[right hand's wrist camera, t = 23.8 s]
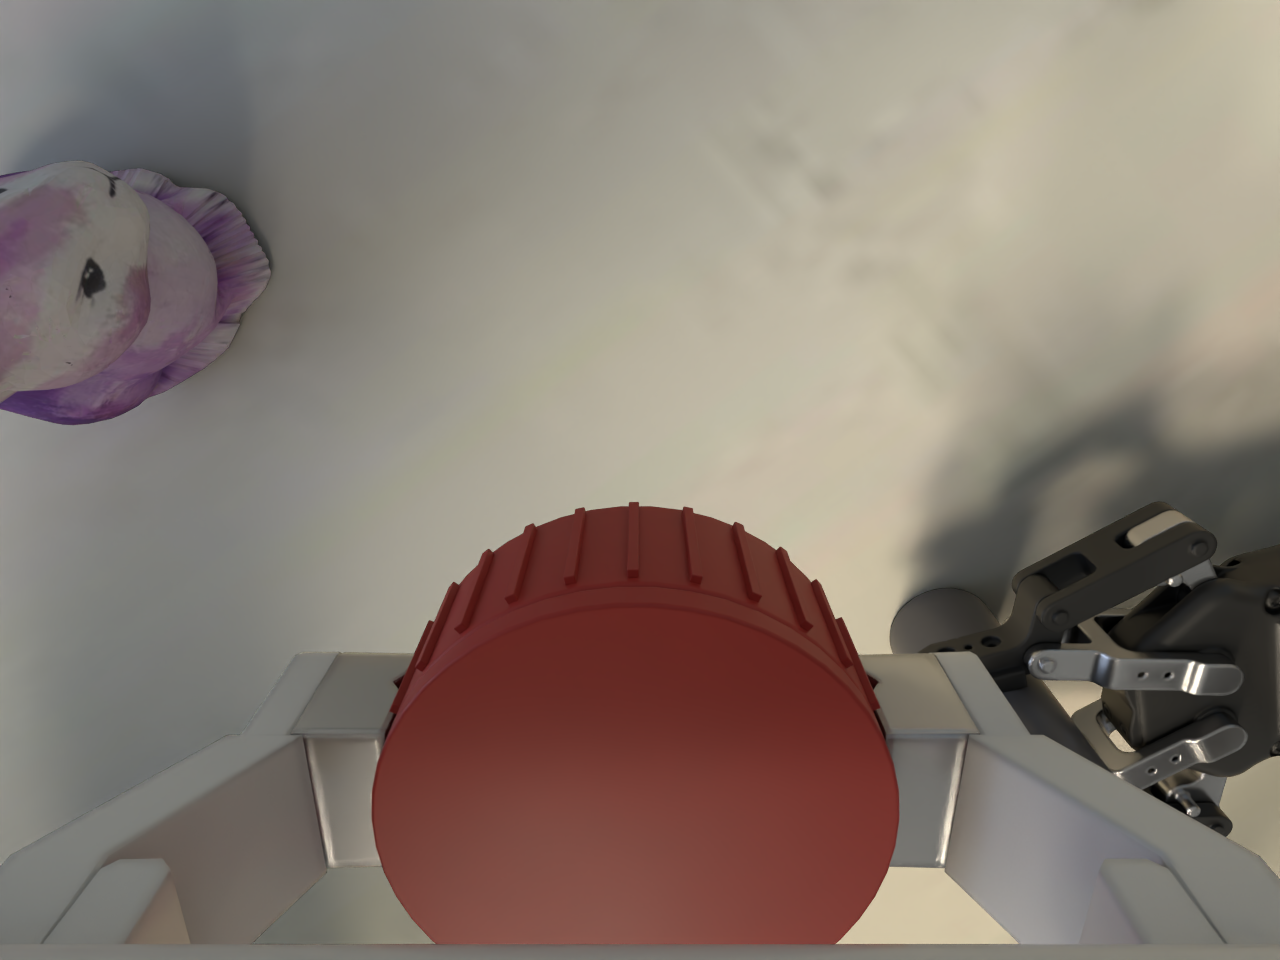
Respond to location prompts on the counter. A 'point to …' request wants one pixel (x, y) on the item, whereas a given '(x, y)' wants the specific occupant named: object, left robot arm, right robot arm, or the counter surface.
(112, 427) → the counter surface
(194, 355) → the figurine
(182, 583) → the counter surface
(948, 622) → the cylinder
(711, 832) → the lid
